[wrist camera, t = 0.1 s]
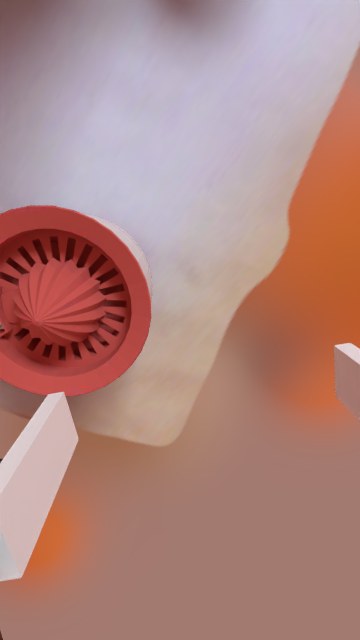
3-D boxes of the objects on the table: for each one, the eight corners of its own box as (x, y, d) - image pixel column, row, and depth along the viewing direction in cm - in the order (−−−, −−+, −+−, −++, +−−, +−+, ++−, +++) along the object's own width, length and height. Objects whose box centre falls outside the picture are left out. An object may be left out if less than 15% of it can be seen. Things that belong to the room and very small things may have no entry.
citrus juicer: (8, 220, 39) (-144, 217, 20) (150, 206, 39) (132, 190, 20) (37, 339, 44) (-65, 430, 25) (163, 327, 44) (160, 407, 25)
